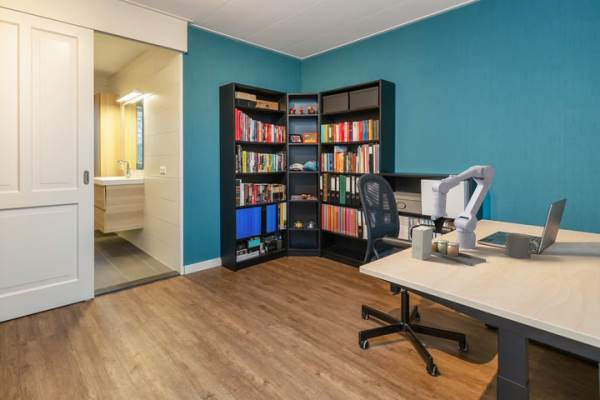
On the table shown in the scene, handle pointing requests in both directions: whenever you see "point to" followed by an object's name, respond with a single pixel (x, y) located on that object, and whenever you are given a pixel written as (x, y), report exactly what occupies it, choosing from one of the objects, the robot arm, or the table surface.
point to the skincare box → (421, 243)
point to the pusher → (435, 247)
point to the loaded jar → (442, 246)
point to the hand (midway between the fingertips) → (438, 232)
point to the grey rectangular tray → (461, 258)
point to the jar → (453, 249)
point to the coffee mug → (520, 245)
